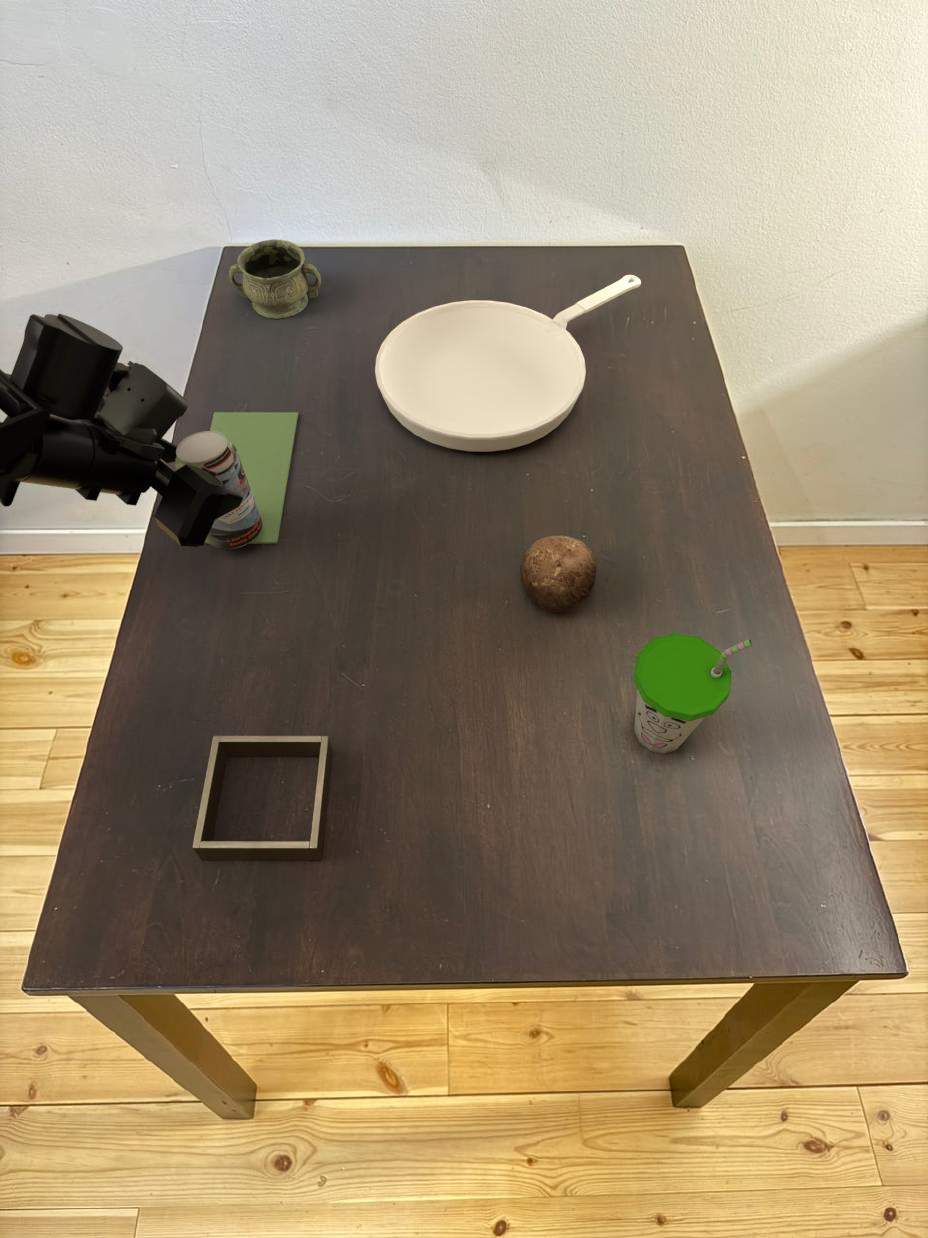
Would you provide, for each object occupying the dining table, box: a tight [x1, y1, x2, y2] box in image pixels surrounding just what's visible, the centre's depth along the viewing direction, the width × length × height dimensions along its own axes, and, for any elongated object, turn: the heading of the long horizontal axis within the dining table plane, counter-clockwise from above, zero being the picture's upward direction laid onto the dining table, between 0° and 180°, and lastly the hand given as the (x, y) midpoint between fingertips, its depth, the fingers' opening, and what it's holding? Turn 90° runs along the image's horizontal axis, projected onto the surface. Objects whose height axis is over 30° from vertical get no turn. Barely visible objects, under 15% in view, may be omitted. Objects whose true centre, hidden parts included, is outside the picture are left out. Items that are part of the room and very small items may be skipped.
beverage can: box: [174, 430, 262, 550], centre depth 85 cm, size 6×7×12 cm
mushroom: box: [519, 535, 598, 613], centre depth 84 cm, size 8×8×6 cm
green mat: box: [204, 411, 299, 545], centre depth 95 cm, size 10×20×1 cm, turn 0°
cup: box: [632, 632, 753, 755], centre depth 71 cm, size 8×8×15 cm
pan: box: [374, 274, 642, 453], centre depth 104 cm, size 25×39×4 cm, turn 129°
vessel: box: [228, 238, 322, 320], centre depth 111 cm, size 12×9×6 cm
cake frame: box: [192, 735, 334, 861], centre depth 72 cm, size 10×10×3 cm
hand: (211, 477), depth 84 cm, fingers open, 9 cm apart
